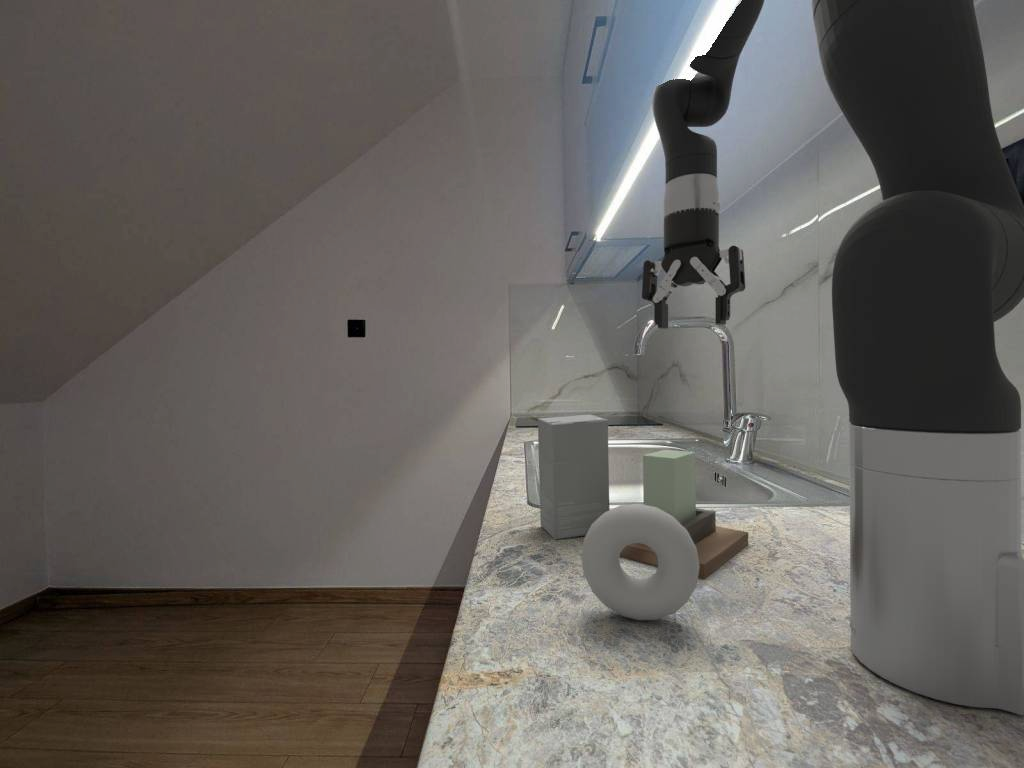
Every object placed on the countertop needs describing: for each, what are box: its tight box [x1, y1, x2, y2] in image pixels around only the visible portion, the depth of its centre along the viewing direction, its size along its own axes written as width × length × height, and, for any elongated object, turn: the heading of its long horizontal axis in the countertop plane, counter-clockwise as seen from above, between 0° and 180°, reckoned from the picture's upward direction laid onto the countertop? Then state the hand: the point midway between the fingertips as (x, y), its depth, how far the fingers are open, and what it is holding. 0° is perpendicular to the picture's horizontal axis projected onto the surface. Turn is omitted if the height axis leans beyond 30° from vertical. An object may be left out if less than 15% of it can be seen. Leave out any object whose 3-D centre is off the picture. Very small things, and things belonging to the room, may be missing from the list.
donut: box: [581, 503, 700, 621], centre depth 43 cm, size 10×4×10 cm, turn 74°
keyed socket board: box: [620, 507, 749, 579], centre depth 61 cm, size 14×14×4 cm
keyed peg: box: [642, 449, 697, 524], centre depth 61 cm, size 6×4×10 cm, turn 137°
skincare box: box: [537, 414, 611, 540], centre depth 67 cm, size 8×7×16 cm
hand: (690, 326), depth 71 cm, fingers open, 8 cm apart
